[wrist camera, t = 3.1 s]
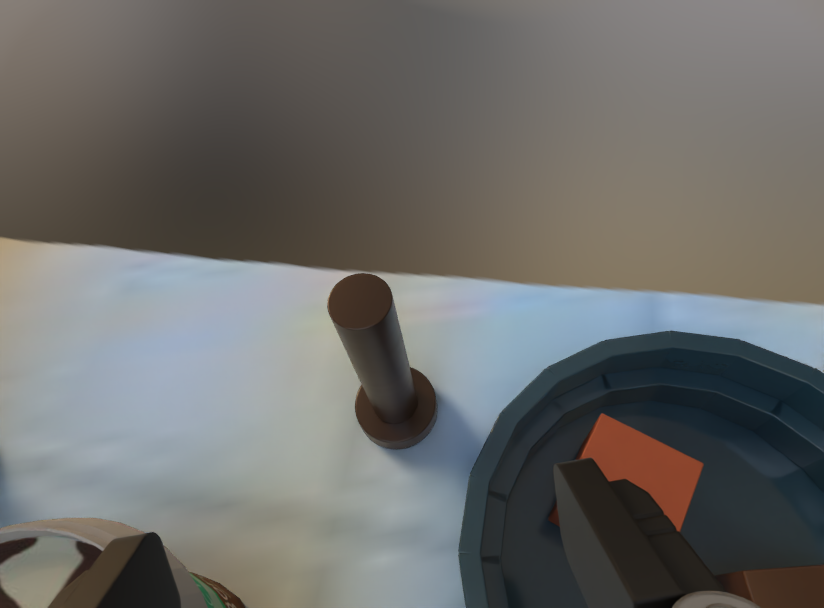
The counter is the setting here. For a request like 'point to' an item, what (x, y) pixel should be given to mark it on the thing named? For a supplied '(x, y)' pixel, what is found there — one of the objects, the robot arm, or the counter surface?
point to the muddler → (381, 364)
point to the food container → (80, 563)
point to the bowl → (669, 424)
